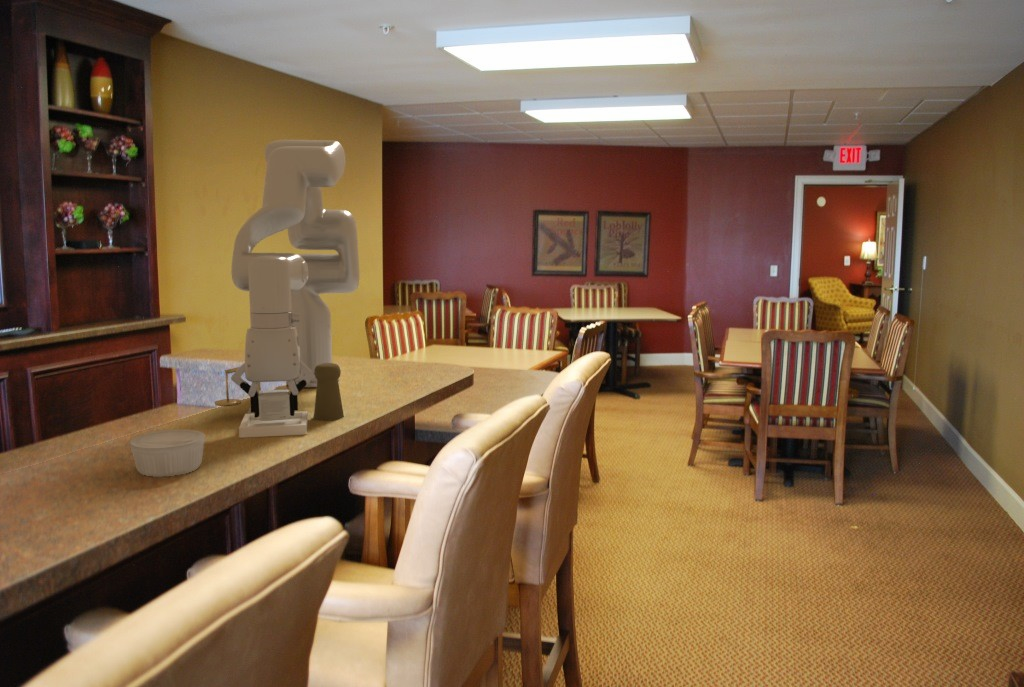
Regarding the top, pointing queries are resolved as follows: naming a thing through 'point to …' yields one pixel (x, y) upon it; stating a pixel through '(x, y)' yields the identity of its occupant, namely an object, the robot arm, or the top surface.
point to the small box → (274, 405)
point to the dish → (274, 426)
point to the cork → (328, 392)
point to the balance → (236, 401)
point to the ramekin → (168, 452)
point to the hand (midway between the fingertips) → (274, 414)
